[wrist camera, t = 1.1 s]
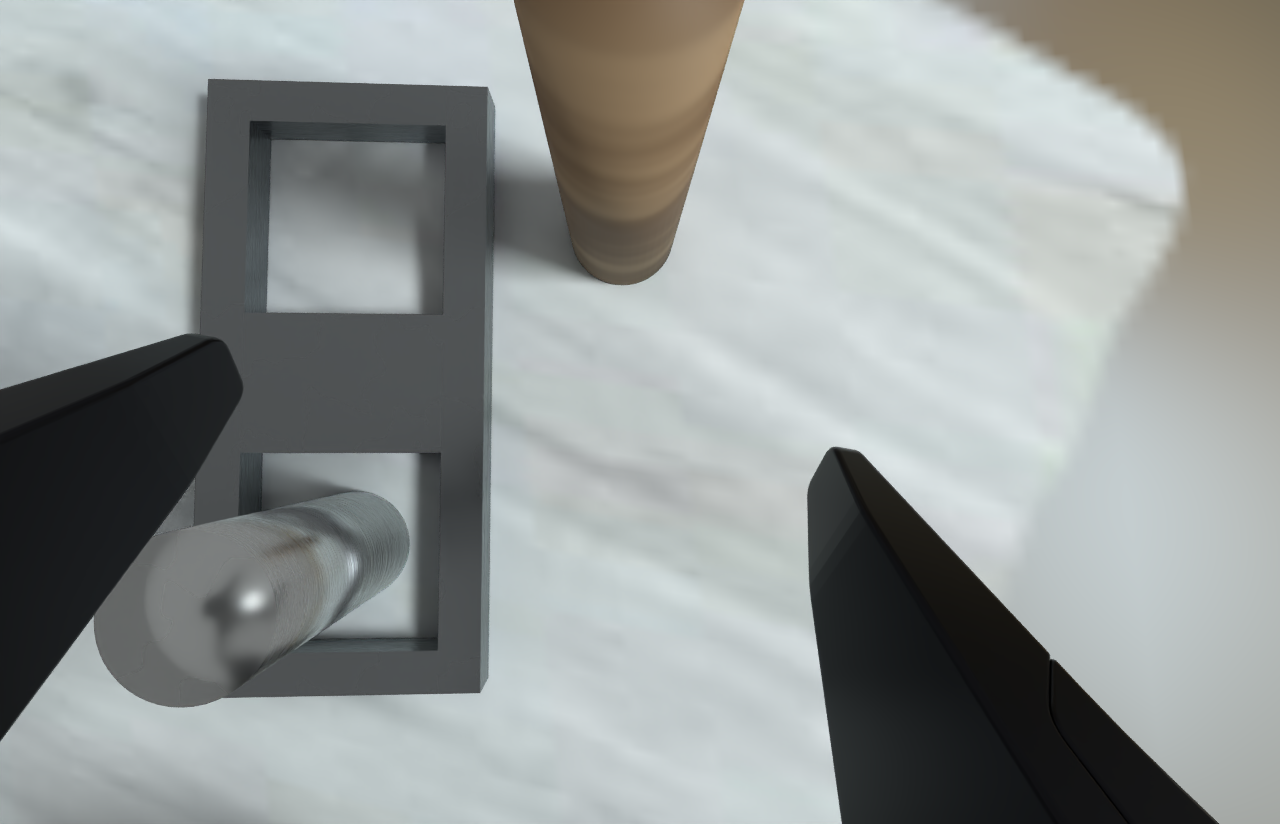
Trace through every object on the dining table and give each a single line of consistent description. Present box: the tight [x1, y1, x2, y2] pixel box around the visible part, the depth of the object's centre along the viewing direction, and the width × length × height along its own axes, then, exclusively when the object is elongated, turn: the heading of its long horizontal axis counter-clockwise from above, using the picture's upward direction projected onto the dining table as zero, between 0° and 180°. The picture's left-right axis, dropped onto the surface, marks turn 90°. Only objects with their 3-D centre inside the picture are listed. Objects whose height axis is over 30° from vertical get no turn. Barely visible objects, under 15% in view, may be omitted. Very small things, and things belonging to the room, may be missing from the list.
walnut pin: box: [514, 0, 744, 285], centre depth 15 cm, size 4×4×13 cm
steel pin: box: [94, 491, 410, 707], centre depth 16 cm, size 4×4×8 cm
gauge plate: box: [194, 79, 495, 698], centre depth 20 cm, size 22×10×1 cm, turn 0°
